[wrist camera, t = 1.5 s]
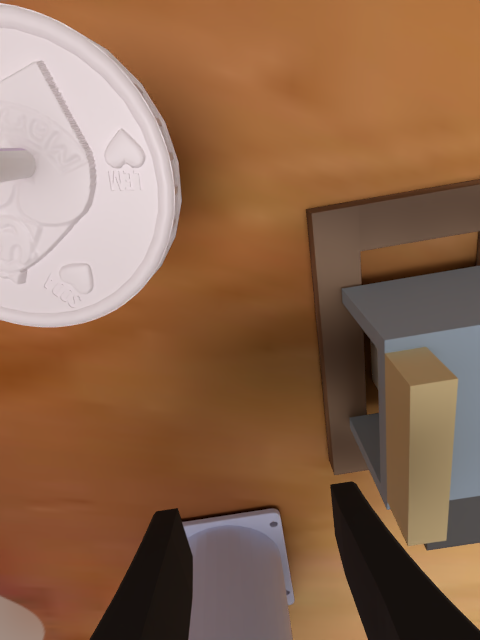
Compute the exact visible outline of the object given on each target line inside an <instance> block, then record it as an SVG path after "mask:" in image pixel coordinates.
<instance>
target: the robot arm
mask: <svg viewBox="0 0 480 640" xmlns="http://www.w3.org/2000/svg"><path fill="white" fill-rule="evenodd" d="M330 486H331V496H332V507H333V518H334V528H335V537H336V540H337V544H338V548H339V552H340V556H341V560H342V564H343V568H344V572H345V575H346V578H347V581H348V584H349V587H350V590H351V593H352V595H353V598H354V601H355V604H356V607H357V610H358V612H359V615H360V618H361V621H362V624H363V626H364V629H365V632H366V635H367V638H368V640H480V630H479V629H478V628H477V627H476V626H475V625H474V624H473V623H472V622H471V621H470V620H469V619H468V618H467V617H466V616H465V615H464V614H463V613H462V612H461V611H460V610H459V609H458V608H457V607H456V606H455V605H454V604H453V603H452V602H451V601H450V600H449V599H448V598H447V597H446V596H445V595H444V594H443V593H442V592H441V591H440V590H439V588H438V587H437V586H436V585H435V584H434V583H433V582H432V581H431V580H430V579H429V577H428V576H427V575H426V574H425V573H424V572H423V571H422V570H421V569H420V567H419V566H418V565H417V564H416V563H415V562H414V560H413V559H412V558H411V557H410V556H409V555H408V553H407V552H406V551H405V550H404V549H403V547H402V546H401V545H400V544H399V542H398V541H397V540H396V539H395V538H394V536H393V535H392V534H391V533H390V531H389V530H388V529H387V527H386V526H385V525H384V524H383V522H382V521H381V519H380V518H379V517H378V515H377V514H376V513H375V511H374V510H373V509H372V507H371V506H370V504H369V503H368V501H367V500H366V499H365V497H364V496H363V494H362V492H361V491H360V489H359V488H358V486H357V484H355V483H354V482H345V483H339V484H332V485H330ZM273 521H274V522H273ZM294 600H295V599H294V593H293V588H292V582H291V576H290V570H289V564H288V558H287V553H286V547H285V541H284V535H283V529H282V523H281V518H280V513H279V511H278V510H277V509H274V508H273V509H265V510H258V511H252V512H245V513H238V514H232V515H225V516H219V517H212V518H206V519H199V520H193V521H186V522H182V520H181V517H180V514H179V511H178V508H176V509H170V510H163V511H157V512H156V513H155V514H154V515H153V518H152V520H151V522H150V524H149V527H148V529H147V531H146V533H145V536H144V538H143V540H142V542H141V544H140V546H139V548H138V551H137V553H136V555H135V557H134V559H133V561H132V563H131V565H130V567H129V569H128V571H127V573H126V575H125V577H124V579H123V580H122V582H121V584H120V586H119V588H118V590H117V592H116V594H115V596H114V598H113V600H112V601H111V603H110V605H109V607H108V608H107V610H106V612H105V614H104V615H103V617H102V619H101V621H100V622H99V624H98V626H97V628H96V629H95V631H94V633H93V635H92V636H91V638H90V640H293V637H292V630H291V623H290V616H289V609H288V605H291V604H293V603H294Z"/></svg>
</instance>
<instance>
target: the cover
mask: <svg viewBox="0 0 480 640" xmlns="http://www.w3.org/2000/svg"><path fill="white" fill-rule="evenodd" d="M342 303H343V304H344V305H345V307H346V308H347V309H348V311H349V312H350V313H351V315H352V316H353V317H354V319H355V320H356V321H357V323H358V324H359V325H360V326H361V328H362V329H363V330H364V332H365V333H366V334H367V336H368V337H369V338H370V340H371V341H372V342H373V344H374V345H375V346H376V347H377V349H378V390H379V413H375V414H369V415H363V416H356V417H350V429H351V431H352V433H353V435H354V438H355V440H356V442H357V444H358V446H359V449H360V451H361V453H362V455H363V457H364V460H365V462H366V464H367V466H368V468H369V471H370V473H371V475H372V477H373V479H374V482H375V484H376V486H377V488H378V491H379V493H380V495H381V497H382V499H383V502H384V504H385V506H386V508H387V510H389V509H391V511H392V513H393V515H394V517H395V519H396V521H397V524H398V526H399V528H400V530H401V532H402V534H403V537H404V539H405V541H406V543H407V545H408V546H413V545H419V544H426V543H433V542H440V541H446V539H447V526H448V512H449V500H455V499H461V498H468V497H475V496H480V266H474V267H468V268H462V269H456V270H450V271H444V272H438V273H432V274H426V275H420V276H414V277H408V278H402V279H396V280H391V281H385V282H379V283H373V284H367V285H361V286H355V287H349V288H343V289H342Z"/></svg>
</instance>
